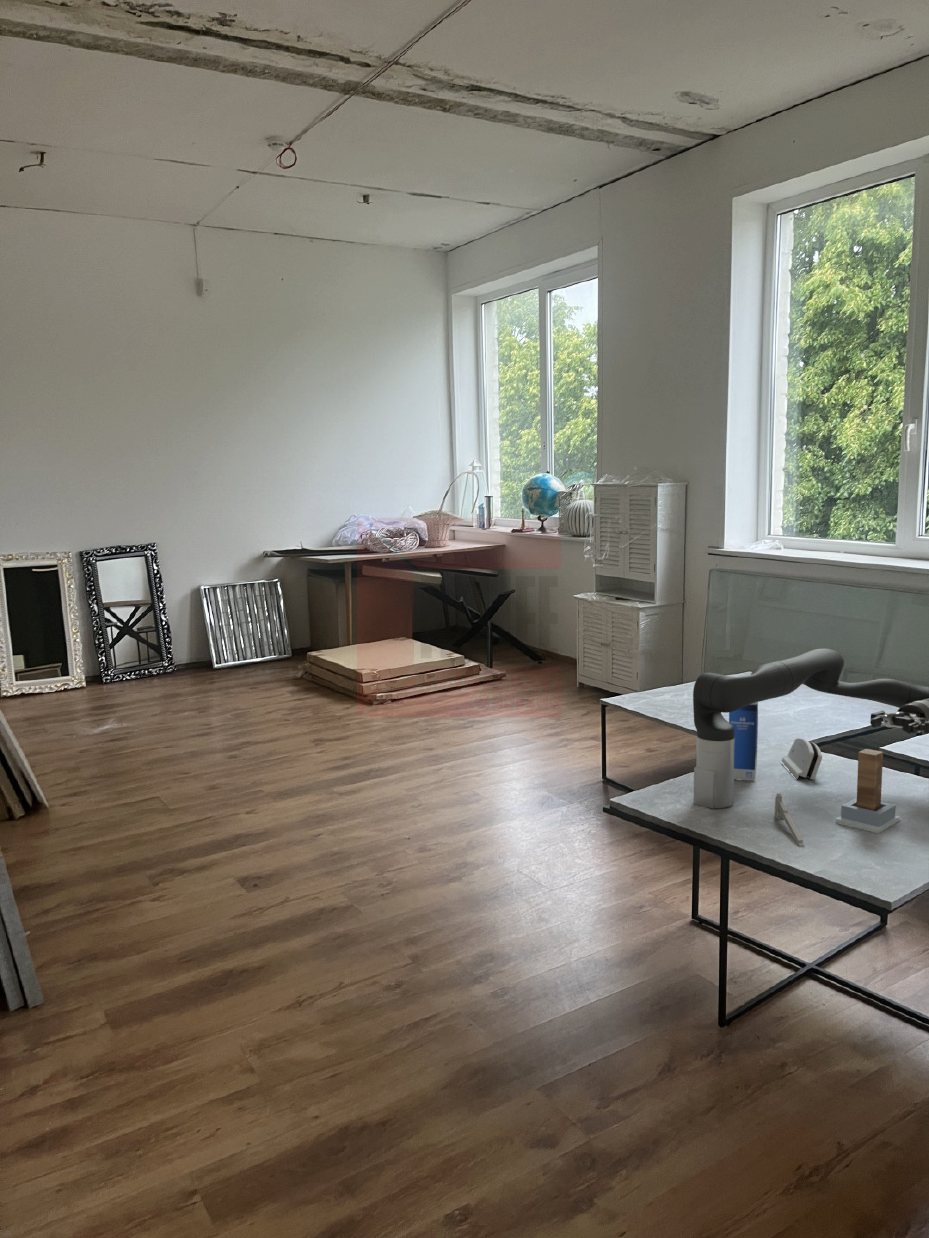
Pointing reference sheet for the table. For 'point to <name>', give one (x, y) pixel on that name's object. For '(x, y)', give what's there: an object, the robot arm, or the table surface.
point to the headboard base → (868, 816)
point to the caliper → (787, 819)
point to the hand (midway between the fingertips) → (891, 726)
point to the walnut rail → (869, 779)
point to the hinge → (803, 759)
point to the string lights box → (745, 741)
